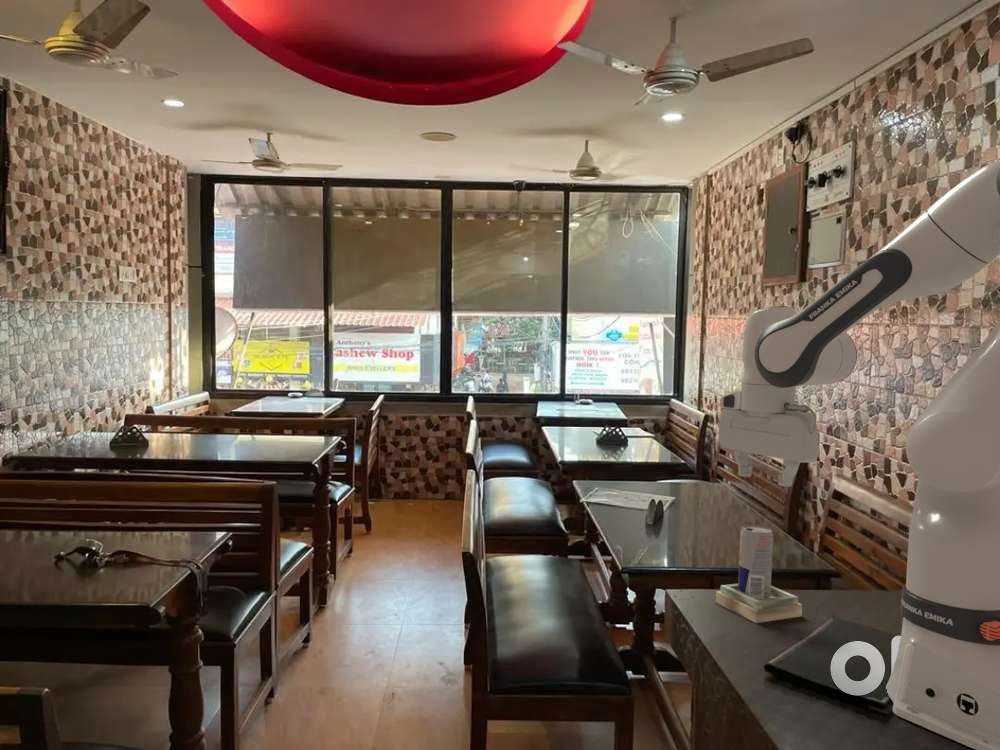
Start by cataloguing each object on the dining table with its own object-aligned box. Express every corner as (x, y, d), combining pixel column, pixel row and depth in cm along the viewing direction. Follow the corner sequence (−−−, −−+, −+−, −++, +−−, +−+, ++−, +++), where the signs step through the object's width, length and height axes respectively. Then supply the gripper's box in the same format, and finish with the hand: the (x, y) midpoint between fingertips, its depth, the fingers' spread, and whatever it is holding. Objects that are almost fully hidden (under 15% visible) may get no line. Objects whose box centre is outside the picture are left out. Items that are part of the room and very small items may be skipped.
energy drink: (744, 589, 128) (747, 523, 127) (774, 597, 125) (777, 529, 124) (732, 597, 124) (736, 528, 123) (763, 605, 120) (767, 534, 120)
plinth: (801, 616, 121) (802, 597, 121) (756, 623, 117) (757, 604, 117) (759, 596, 130) (760, 579, 130) (715, 602, 127) (716, 584, 126)
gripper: (830, 406, 114) (826, 491, 115) (740, 397, 133) (737, 470, 134) (800, 406, 112) (797, 493, 112) (713, 397, 131) (710, 472, 131)
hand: (764, 481), depth 123 cm, fingers open, 8 cm apart
